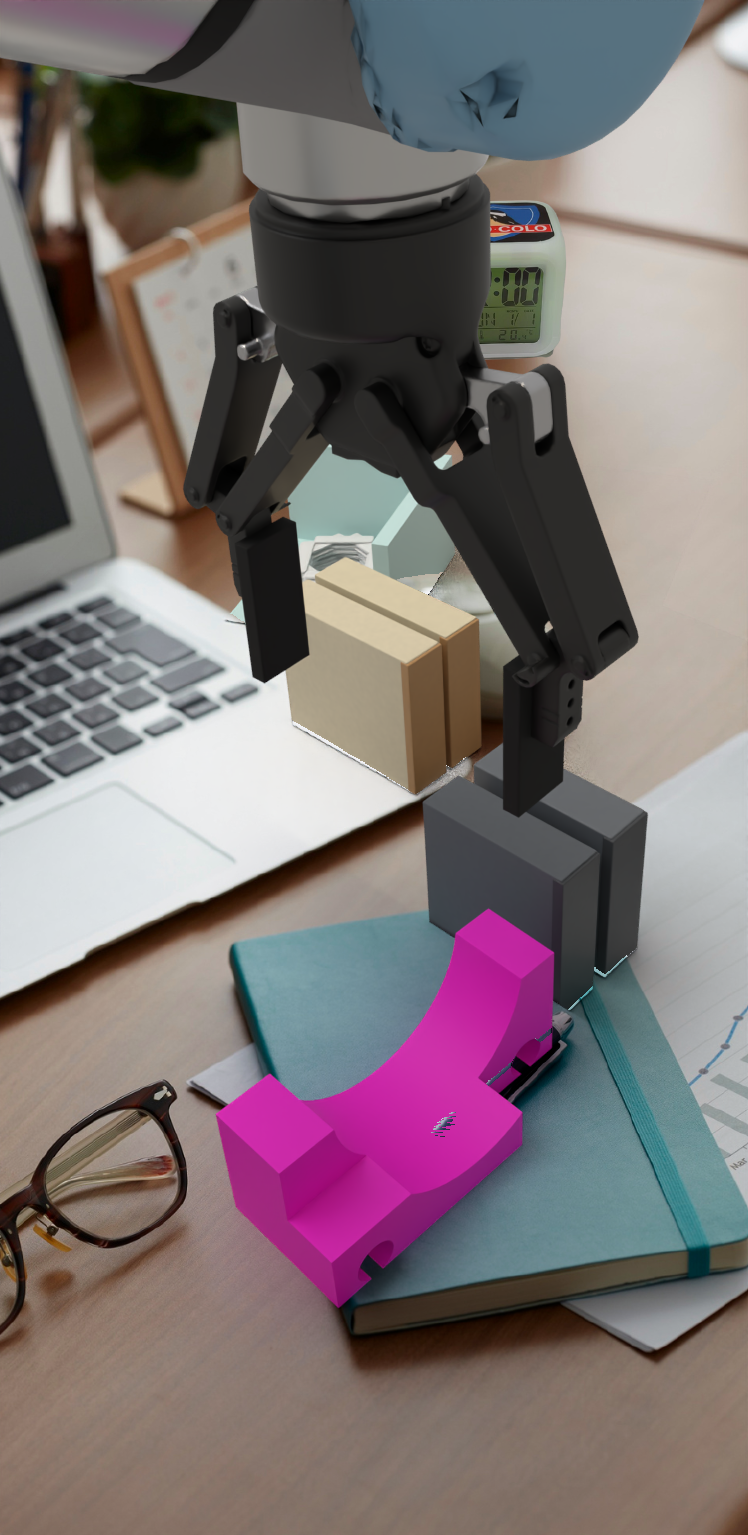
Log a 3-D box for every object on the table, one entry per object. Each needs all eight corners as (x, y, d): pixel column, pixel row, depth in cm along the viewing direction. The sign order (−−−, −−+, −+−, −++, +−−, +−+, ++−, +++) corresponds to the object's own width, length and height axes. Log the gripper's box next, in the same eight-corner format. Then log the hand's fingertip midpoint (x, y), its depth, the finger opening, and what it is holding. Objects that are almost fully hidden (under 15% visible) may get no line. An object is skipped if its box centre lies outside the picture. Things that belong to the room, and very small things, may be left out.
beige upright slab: (451, 770, 80) (447, 638, 74) (326, 702, 86) (313, 574, 80) (482, 748, 82) (479, 617, 76) (356, 682, 87) (346, 555, 82)
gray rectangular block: (558, 1023, 66) (563, 883, 60) (429, 939, 70) (421, 802, 65) (593, 991, 67) (600, 851, 61) (463, 910, 72) (459, 774, 66)
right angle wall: (296, 531, 102) (286, 435, 97) (455, 553, 98) (451, 455, 94) (224, 620, 94) (208, 520, 89) (394, 649, 90) (387, 545, 85)
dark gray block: (605, 980, 67) (613, 840, 62) (475, 901, 72) (472, 764, 66) (637, 949, 69) (648, 810, 63) (508, 874, 73) (507, 737, 68)
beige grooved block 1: (415, 797, 79) (408, 664, 73) (291, 725, 84) (274, 597, 79) (447, 774, 80) (442, 642, 74) (322, 704, 86) (308, 577, 80)
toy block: (341, 1327, 55) (324, 1216, 50) (239, 1226, 58) (215, 1114, 54) (594, 1099, 62) (600, 984, 57) (490, 1022, 66) (488, 908, 61)
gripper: (794, 219, 39) (718, 807, 52) (191, 96, 53) (254, 585, 66) (635, 305, 35) (597, 919, 48) (27, 147, 49) (129, 658, 62)
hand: (399, 727), depth 57 cm, fingers open, 13 cm apart
